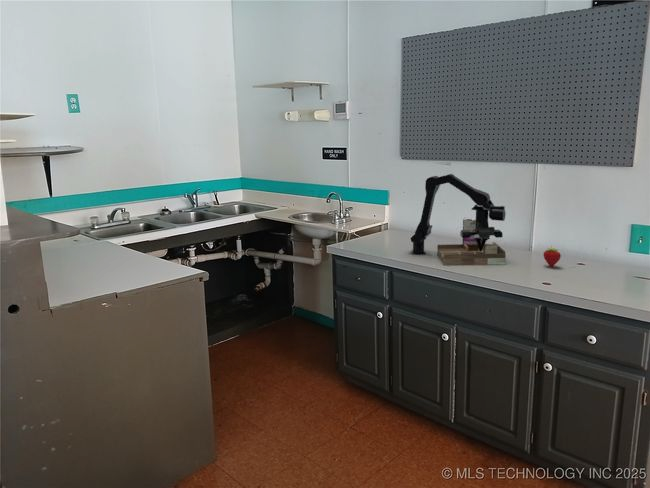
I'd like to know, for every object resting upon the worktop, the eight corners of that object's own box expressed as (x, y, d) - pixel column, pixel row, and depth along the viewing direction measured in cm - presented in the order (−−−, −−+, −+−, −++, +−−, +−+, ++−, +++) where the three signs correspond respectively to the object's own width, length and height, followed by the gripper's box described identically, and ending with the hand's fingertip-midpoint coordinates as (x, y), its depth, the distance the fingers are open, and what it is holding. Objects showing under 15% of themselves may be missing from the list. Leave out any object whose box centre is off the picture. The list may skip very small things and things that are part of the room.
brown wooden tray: (437, 254, 255) (437, 242, 254) (493, 253, 253) (494, 241, 252) (443, 265, 236) (444, 252, 234) (505, 264, 234) (505, 251, 232)
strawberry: (555, 269, 223) (556, 247, 221) (539, 266, 229) (541, 244, 227) (562, 267, 226) (564, 245, 224) (547, 263, 232) (548, 242, 230)
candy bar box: (485, 248, 263) (486, 218, 259) (484, 251, 258) (485, 219, 254) (463, 247, 267) (464, 217, 263) (461, 249, 262) (462, 218, 258)
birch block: (482, 251, 246) (483, 243, 245) (494, 251, 246) (494, 243, 245) (485, 254, 241) (485, 246, 240) (497, 254, 240) (497, 245, 239)
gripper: (465, 222, 232) (464, 255, 236) (506, 222, 231) (504, 255, 235) (460, 218, 243) (459, 249, 247) (500, 217, 242) (498, 249, 245)
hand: (480, 251), depth 243 cm, fingers closed
